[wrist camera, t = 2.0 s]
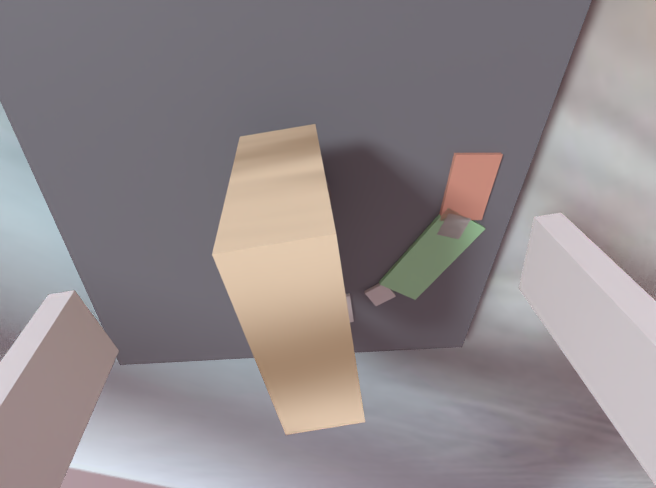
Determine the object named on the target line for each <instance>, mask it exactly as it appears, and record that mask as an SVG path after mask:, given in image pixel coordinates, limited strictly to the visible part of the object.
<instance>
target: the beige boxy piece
mask: <svg viewBox="0 0 656 488" xmlns="http://www.w3.org/2000/svg"><path fill="white" fill-rule="evenodd" d="M212 256H213V258H214V261H215V263H216V265H217V268H218V270H219V273H220V275H221V278H222V280H223V283H224V285H225V287H226V290H227V292H228V295H229V297H230V300H231V302H232V305H233V307H234V309H235V312H236V314H237V317H238V319H239V322H240V324H241V327H242V329H243V331H244V334H245V336H246V339H247V341H248V344H249V346H250V349H251V351H252V353H253V356H254V358H255V361H256V363H257V366H258V368H259V371H260V373H261V375H262V378H263V380H264V383H265V385H266V388H267V390H268V393H269V395H270V397H271V400H272V402H273V405H274V407H275V410H276V412H277V415H278V417H279V419H280V422H281V424H282V427H283V429H284V432H285V434H286V435H289V434H295V433H301V432H307V431H314V430H320V429H326V428H332V427H338V426H344V425H350V424H357V423H363V422H365V418H364V411H363V405H362V398H361V392H360V385H359V379H358V372H357V366H356V359H355V353H354V346H353V340H352V333H351V327H350V320H349V314H348V307H347V301H346V294H345V288H344V281H343V275H342V268H341V261H340V255H339V248H338V242H337V235H336V230H335V225H334V219H333V214H332V209H331V191H330V186H329V182H328V180H327V178H326V176H325V172H324V167H323V162H322V157H321V151H320V146H319V141H318V136H317V130H316V125H315V124H312V125H306V126H300V127H294V128H288V129H282V130H276V131H270V132H264V133H258V134H253V135H247V136H241V137H240V138H239V142H238V147H237V151H236V155H235V159H234V163H233V168H232V172H231V176H230V180H229V185H228V189H227V193H226V197H225V202H224V206H223V210H222V214H221V218H220V223H219V227H218V231H217V235H216V240H215V244H214V248H213V252H212Z"/></svg>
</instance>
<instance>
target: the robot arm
mask: <svg viewBox="0 0 656 488" xmlns="http://www.w3.org/2000/svg"><path fill="white" fill-rule="evenodd" d="M519 290H520V291H521V293H522V294H523V295H524V297H525V298H526V300H527V301H528V303H529V304H530V306H531V307H532V308H533V310H534V311H535V313H536V314H537V316H538V317H539V318H540V320H541V321H542V323H543V324H544V326H545V327H546V329H547V330H548V331H549V333H550V334H551V336H552V337H553V339H554V340H555V342H556V343H557V344H558V346H559V347H560V349H561V350H562V352H563V353H564V355H565V356H566V357H567V359H568V360H569V362H570V363H571V365H572V366H573V368H574V369H575V370H576V372H577V373H578V375H579V376H580V378H581V379H582V381H583V382H584V383H585V385H586V386H587V388H588V389H589V391H590V392H591V393H592V395H593V396H594V398H595V399H596V401H597V402H598V404H599V405H600V406H601V408H602V409H603V411H604V412H605V414H606V415H607V417H608V418H609V419H610V421H611V422H612V424H613V425H614V427H615V428H616V430H617V431H618V432H619V434H620V435H621V437H622V438H623V440H624V441H625V443H626V444H627V445H628V447H629V448H630V450H631V451H632V453H633V454H634V455H635V457H636V458H637V460H638V461H639V463H640V464H641V466H642V467H643V468H644V470H645V471H646V473H647V474H648V476H649V477H650V479H651V480H652V481H653V483H654V484H655V486H656V301H655V300H654V299H653V298H652V297H651V296H650V295H649V294H648V293H647V292H646V291H645V290H643V289H642V288H641V287H640V286H639V285H638V284H637V283H636V282H635V281H634V280H633V279H632V278H631V277H630V276H629V275H627V274H626V273H625V272H624V271H623V270H622V269H621V268H620V267H619V266H618V265H617V264H616V263H615V262H614V261H613V260H611V259H610V258H609V257H608V256H607V255H606V254H605V253H604V252H603V251H602V250H601V249H600V248H599V247H598V246H597V245H595V244H594V243H593V242H592V241H591V240H590V239H589V238H588V237H587V236H586V235H585V234H584V233H583V232H582V231H581V230H579V229H578V228H577V227H576V226H575V225H574V224H573V223H572V222H571V221H570V220H569V219H568V218H567V217H566V216H565V215H564V214H562V213H555V214H549V215H543V216H537V217H534V219H533V224H532V229H531V233H530V238H529V242H528V247H527V252H526V256H525V261H524V265H523V270H522V275H521V279H520V284H519ZM118 352H119V350H118V349H117V347H116V346H115V345H114V343H113V342H112V341H111V339H110V338H109V337H108V335H107V334H106V332H105V331H104V330H103V328H102V327H101V326H100V324H99V323H98V322H97V320H96V319H95V317H94V316H93V315H92V313H91V312H90V311H89V309H88V308H87V306H86V305H85V304H84V302H83V301H82V300H81V298H80V297H79V296H78V294H77V293H76V291H75V290H73V291H66V292H60V293H54V294H48V296H47V297H46V298H45V300H44V301H43V303H42V304H41V305H40V307H39V308H38V310H37V311H36V312H35V314H34V315H33V317H32V318H31V319H30V321H29V322H28V324H27V325H26V326H25V328H24V329H23V331H22V332H21V334H20V335H19V336H18V338H17V339H16V341H15V342H14V343H13V345H12V346H11V348H10V349H9V350H8V352H7V353H6V355H5V356H4V357H3V359H2V360H1V362H0V488H60V487H61V484H62V482H63V479H64V477H65V475H66V473H67V470H68V468H69V466H70V463H71V461H72V459H73V456H74V454H75V452H76V449H77V447H78V445H79V442H80V440H81V438H82V435H83V433H84V431H85V428H86V426H87V424H88V422H89V419H90V417H91V415H92V412H93V410H94V408H95V405H96V403H97V401H98V398H99V396H100V394H101V391H102V389H103V387H104V384H105V382H106V380H107V377H108V375H109V373H110V370H111V368H112V366H113V363H114V361H115V359H116V356H117V354H118Z"/></svg>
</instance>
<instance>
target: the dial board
mask: <svg viewBox="0 0 656 488" xmlns="http://www.w3.org/2000/svg"><path fill="white" fill-rule="evenodd" d="M591 1H592V0H0V101H1V104H2V106H3V108H4V110H5V112H6V115H7V117H8V119H9V121H10V123H11V126H12V128H13V130H14V132H15V134H16V137H17V139H18V141H19V143H20V145H21V148H22V150H23V152H24V154H25V157H26V159H27V161H28V163H29V165H30V168H31V170H32V172H33V174H34V176H35V179H36V181H37V183H38V185H39V187H40V190H41V192H42V194H43V196H44V198H45V201H46V203H47V205H48V207H49V209H50V212H51V214H52V216H53V218H54V221H55V223H56V225H57V227H58V229H59V232H60V234H61V236H62V238H63V240H64V243H65V245H66V247H67V249H68V251H69V254H70V256H71V258H72V260H73V262H74V265H75V267H76V269H77V271H78V273H79V276H80V278H81V280H82V282H83V285H84V287H85V289H86V291H87V293H88V296H89V298H90V300H91V302H92V304H93V307H94V309H95V311H96V313H97V315H98V318H99V320H100V322H101V324H102V326H103V329H104V331H105V332H106V334H107V335H108V337H109V338H110V339H111V341H112V342H113V343H114V345H115V346H116V347H117V349H118V350H119V352H118V354H117V356H116V357H117V360H118V362H119V364H120V365H126V364H145V363H164V362H183V361H202V360H221V359H240V358H254V356H253V353H252V351H251V349H250V346H249V344H248V341H247V339H246V336H245V334H244V331H243V329H242V327H241V324H240V322H239V319H238V317H237V314H236V312H235V309H234V307H233V305H232V302H231V300H230V297H229V295H228V292H227V290H226V287H225V285H224V283H223V280H222V278H221V275H220V273H219V270H218V268H217V265H216V263H215V261H214V258H213V256H212V252H213V248H214V244H215V240H216V235H217V231H218V227H219V223H220V218H221V214H222V210H223V206H224V202H225V197H226V193H227V189H228V185H229V180H230V176H231V172H232V168H233V163H234V159H235V155H236V151H237V147H238V142H239V138H240V137H241V136H247V135H253V134H258V133H264V132H270V131H276V130H282V129H288V128H294V127H300V126H306V125H312V124H315V125H316V130H317V136H318V141H319V146H320V151H321V157H322V162H323V167H324V172H325V176H326V178H327V180H328V182H329V186H330V191H331V209H332V214H333V219H334V225H335V230H336V235H337V242H338V248H339V255H340V261H341V268H342V275H343V281H344V288H345V294H346V301H347V307H348V314H349V320H350V327H351V333H352V340H353V346H354V352H373V351H392V350H411V349H430V348H449V347H462V345H463V343H464V340H465V337H466V335H467V332H468V329H469V327H470V324H471V321H472V319H473V316H474V313H475V311H476V308H477V305H478V303H479V300H480V297H481V295H482V292H483V289H484V287H485V284H486V281H487V279H488V276H489V273H490V271H491V268H492V265H493V263H494V260H495V257H496V255H497V252H498V249H499V247H500V244H501V241H502V239H503V236H504V233H505V231H506V228H507V225H508V223H509V220H510V217H511V215H512V212H513V209H514V207H515V204H516V201H517V199H518V196H519V193H520V191H521V188H522V185H523V183H524V180H525V177H526V175H527V172H528V169H529V167H530V164H531V161H532V159H533V156H534V153H535V151H536V148H537V145H538V142H539V140H540V137H541V134H542V132H543V129H544V126H545V124H546V121H547V118H548V116H549V113H550V110H551V108H552V105H553V102H554V100H555V97H556V94H557V92H558V89H559V86H560V84H561V81H562V78H563V76H564V73H565V70H566V68H567V65H568V62H569V60H570V57H571V54H572V52H573V49H574V46H575V44H576V41H577V38H578V36H579V33H580V30H581V28H582V25H583V22H584V20H585V17H586V14H587V12H588V9H589V6H590V4H591Z"/></svg>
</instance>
